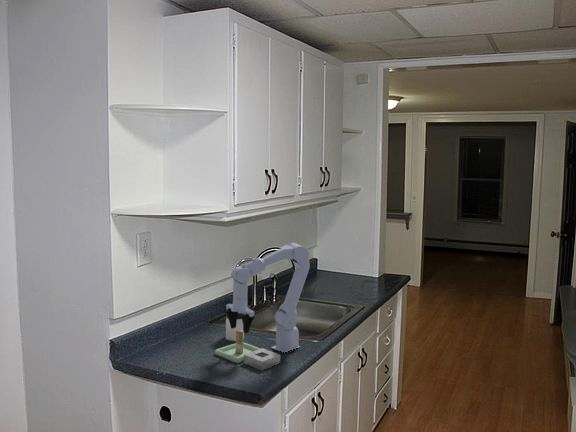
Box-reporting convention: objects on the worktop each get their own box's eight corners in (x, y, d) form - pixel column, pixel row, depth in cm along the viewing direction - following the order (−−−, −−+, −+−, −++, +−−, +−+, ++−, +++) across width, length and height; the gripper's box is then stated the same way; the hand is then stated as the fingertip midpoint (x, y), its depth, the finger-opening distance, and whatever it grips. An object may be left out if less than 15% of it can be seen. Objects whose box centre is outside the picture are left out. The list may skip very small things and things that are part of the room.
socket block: (262, 356, 224) (262, 348, 223) (280, 363, 217) (280, 354, 216) (243, 363, 216) (243, 354, 216) (261, 370, 210) (261, 361, 209)
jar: (244, 341, 241) (244, 314, 239) (225, 341, 240) (225, 314, 239) (244, 334, 250) (245, 308, 248) (226, 334, 249) (226, 308, 248)
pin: (239, 351, 227) (239, 329, 226) (244, 353, 225) (244, 331, 224) (233, 352, 225) (234, 331, 224) (238, 354, 223) (239, 333, 222)
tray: (241, 346, 235) (241, 341, 235) (263, 354, 226) (263, 349, 226) (215, 354, 225) (215, 349, 224) (237, 363, 216) (237, 358, 216)
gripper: (220, 295, 224) (220, 328, 226) (245, 302, 215) (244, 336, 216) (233, 292, 230) (233, 324, 231) (258, 299, 220) (257, 332, 221)
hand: (239, 330), depth 224 cm, fingers open, 7 cm apart
